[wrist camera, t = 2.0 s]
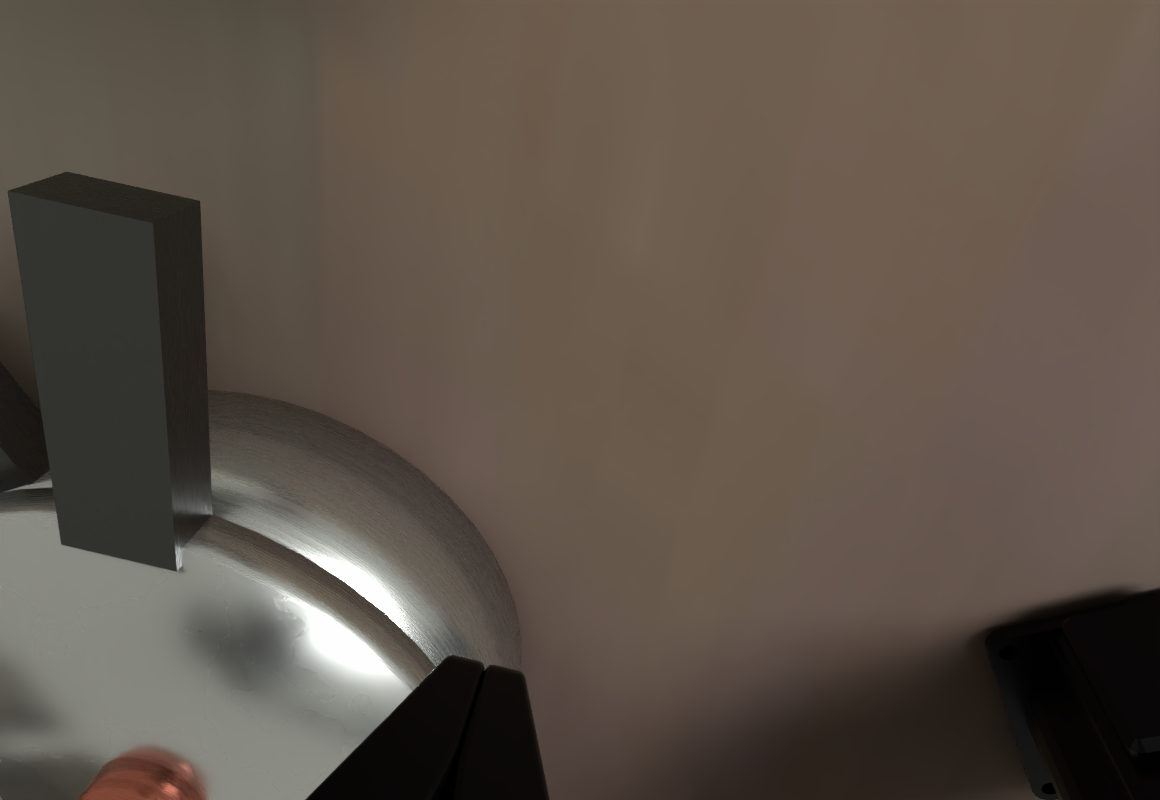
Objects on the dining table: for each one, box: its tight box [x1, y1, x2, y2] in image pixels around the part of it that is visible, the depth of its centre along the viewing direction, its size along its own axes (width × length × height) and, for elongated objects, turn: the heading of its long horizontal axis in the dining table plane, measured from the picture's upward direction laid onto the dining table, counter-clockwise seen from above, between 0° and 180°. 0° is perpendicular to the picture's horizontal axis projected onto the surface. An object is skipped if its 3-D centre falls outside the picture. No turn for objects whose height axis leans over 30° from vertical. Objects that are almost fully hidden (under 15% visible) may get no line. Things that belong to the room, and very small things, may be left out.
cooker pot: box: [0, 362, 521, 671], centre depth 23 cm, size 22×16×5 cm
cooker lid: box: [0, 172, 436, 800], centre depth 19 cm, size 23×17×2 cm
